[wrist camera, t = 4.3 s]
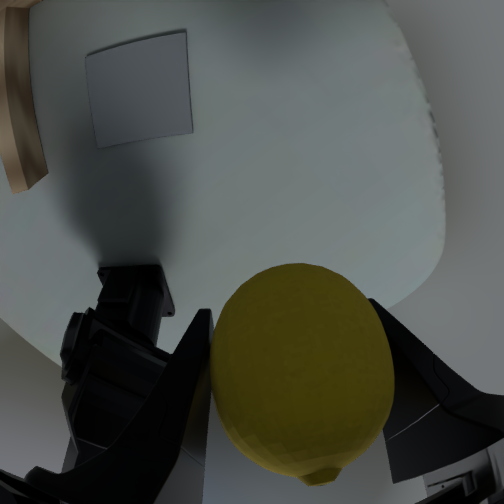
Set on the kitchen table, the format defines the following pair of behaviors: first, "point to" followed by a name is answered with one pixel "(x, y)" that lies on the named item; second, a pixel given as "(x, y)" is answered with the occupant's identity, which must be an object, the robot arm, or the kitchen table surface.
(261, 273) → the lemon
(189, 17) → the kitchen table surface
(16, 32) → the l-shaped wooden corner
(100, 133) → the mat
